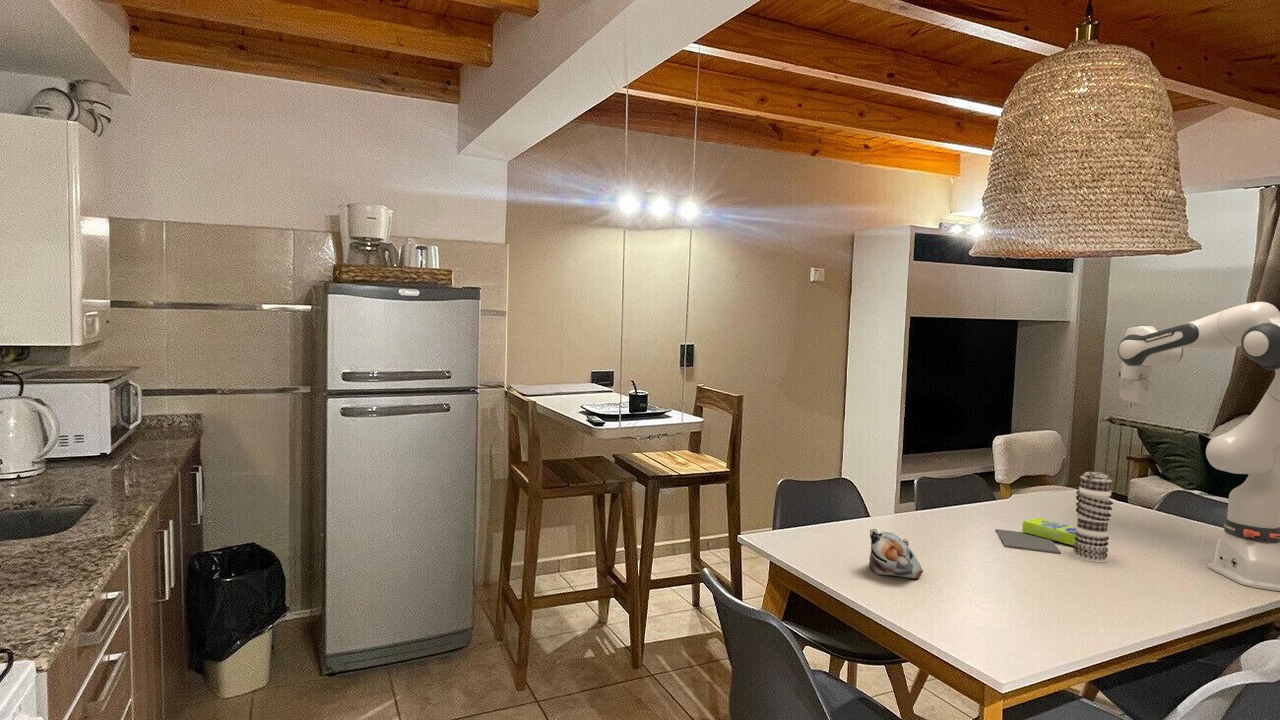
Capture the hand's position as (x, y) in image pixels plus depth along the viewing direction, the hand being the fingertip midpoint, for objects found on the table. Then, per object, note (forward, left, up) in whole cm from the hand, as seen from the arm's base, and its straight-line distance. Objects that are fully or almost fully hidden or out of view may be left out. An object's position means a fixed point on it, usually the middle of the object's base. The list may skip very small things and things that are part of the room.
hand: (1133, 415), depth 239 cm
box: (-18, +32, -36) cm, 52 cm away
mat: (-30, +35, -39) cm, 60 cm away
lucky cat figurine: (-81, +74, -39) cm, 117 cm away
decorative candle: (-40, +20, -39) cm, 59 cm away
